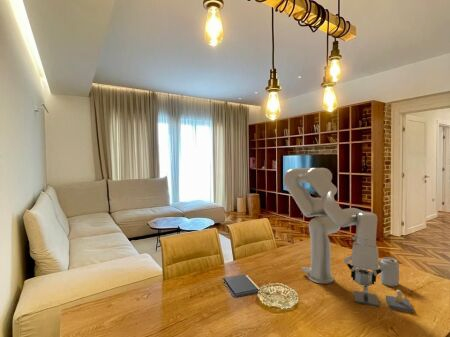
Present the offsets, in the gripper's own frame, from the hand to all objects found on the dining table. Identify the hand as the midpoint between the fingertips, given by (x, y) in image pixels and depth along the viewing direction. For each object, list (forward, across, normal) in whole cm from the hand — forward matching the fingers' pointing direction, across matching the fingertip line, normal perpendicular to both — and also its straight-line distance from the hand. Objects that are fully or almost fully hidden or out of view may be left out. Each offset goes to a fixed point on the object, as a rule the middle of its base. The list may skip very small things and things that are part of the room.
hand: (363, 280), depth 110 cm
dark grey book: (+11, -53, -10) cm, 55 cm away
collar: (0, 0, 0) cm, 0 cm away
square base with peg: (+7, +13, -1) cm, 15 cm away
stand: (+8, +1, -1) cm, 8 cm away
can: (+8, +13, +19) cm, 25 cm away
